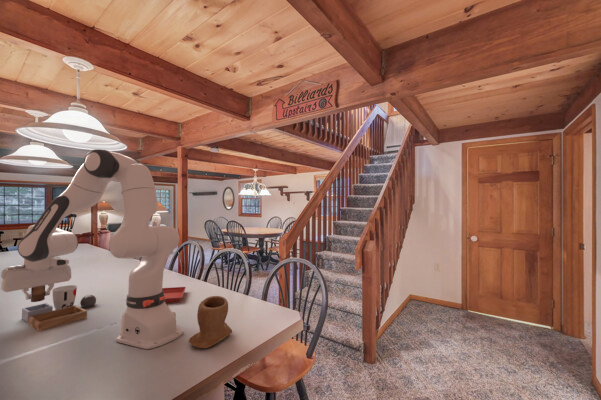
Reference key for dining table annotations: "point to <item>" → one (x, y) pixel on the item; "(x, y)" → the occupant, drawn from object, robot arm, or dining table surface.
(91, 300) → the dark gray ball
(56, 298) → the cup
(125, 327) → the robot arm
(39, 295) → the walnut peg
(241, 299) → the dining table surface
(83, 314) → the oak tray
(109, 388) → the dining table surface
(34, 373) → the dining table surface
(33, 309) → the pen pot
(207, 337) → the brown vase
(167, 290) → the plant saucer
